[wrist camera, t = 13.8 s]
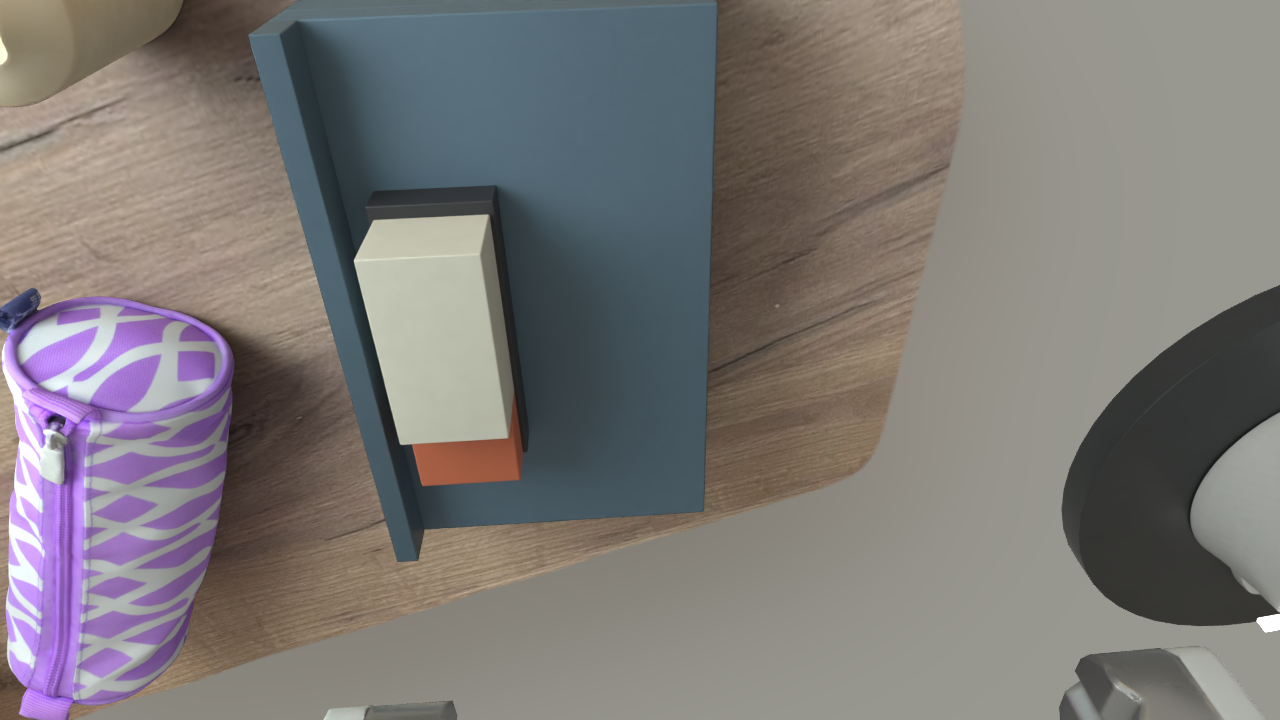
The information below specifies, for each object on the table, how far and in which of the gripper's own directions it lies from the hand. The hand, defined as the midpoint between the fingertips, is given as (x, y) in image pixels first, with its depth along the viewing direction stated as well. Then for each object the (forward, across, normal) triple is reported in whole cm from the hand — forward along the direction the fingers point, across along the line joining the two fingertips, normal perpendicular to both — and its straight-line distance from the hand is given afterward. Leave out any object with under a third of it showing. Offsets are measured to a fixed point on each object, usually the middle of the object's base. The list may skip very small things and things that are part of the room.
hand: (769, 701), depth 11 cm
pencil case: (+29, +27, +19) cm, 44 cm away
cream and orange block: (+23, +8, +8) cm, 26 cm away
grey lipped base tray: (+29, +5, +8) cm, 31 cm away
